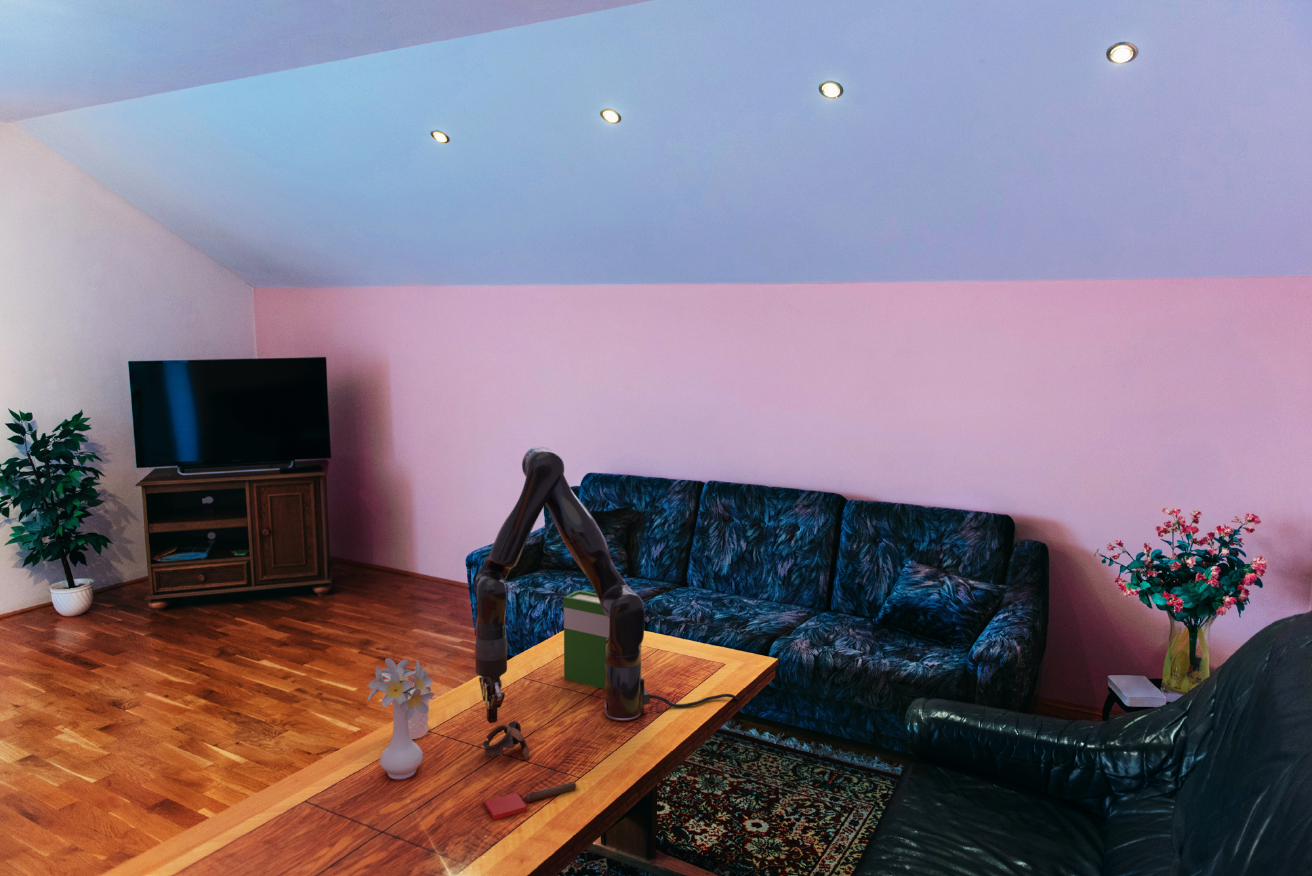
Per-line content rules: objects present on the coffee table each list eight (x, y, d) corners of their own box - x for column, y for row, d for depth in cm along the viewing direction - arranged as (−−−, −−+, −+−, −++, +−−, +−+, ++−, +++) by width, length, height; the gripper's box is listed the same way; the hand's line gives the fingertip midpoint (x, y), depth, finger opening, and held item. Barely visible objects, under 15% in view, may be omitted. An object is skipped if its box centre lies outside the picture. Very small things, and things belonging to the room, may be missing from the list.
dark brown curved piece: (527, 768, 190) (509, 742, 187) (493, 781, 192) (473, 756, 189) (538, 731, 201) (520, 706, 198) (505, 744, 203) (487, 719, 201)
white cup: (436, 728, 208) (435, 690, 206) (417, 743, 200) (416, 703, 199) (409, 723, 210) (408, 685, 209) (389, 737, 203) (388, 698, 201)
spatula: (570, 782, 183) (570, 775, 183) (581, 795, 178) (581, 788, 178) (484, 805, 174) (484, 798, 174) (493, 820, 169) (493, 812, 169)
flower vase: (403, 800, 176) (400, 686, 173) (356, 770, 188) (352, 663, 184) (454, 775, 186) (452, 667, 183) (406, 748, 197) (403, 647, 194)
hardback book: (630, 682, 236) (631, 600, 233) (616, 692, 229) (616, 607, 226) (579, 669, 244) (578, 590, 241) (564, 678, 238) (563, 597, 235)
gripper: (515, 660, 199) (515, 729, 201) (497, 642, 210) (498, 707, 212) (484, 665, 195) (485, 736, 197) (468, 647, 207) (469, 713, 209)
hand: (492, 721), depth 205 cm, fingers closed
